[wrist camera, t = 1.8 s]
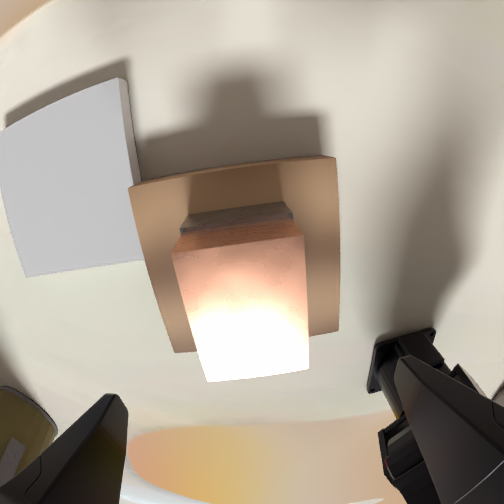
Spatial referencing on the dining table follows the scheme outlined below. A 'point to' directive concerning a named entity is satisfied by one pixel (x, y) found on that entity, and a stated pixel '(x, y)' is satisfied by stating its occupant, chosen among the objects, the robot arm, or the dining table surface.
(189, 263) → the housing
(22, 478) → the robot arm
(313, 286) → the walnut plinth
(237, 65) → the dining table surface
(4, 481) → the canister
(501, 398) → the coffee pot
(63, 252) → the ceramic tile
